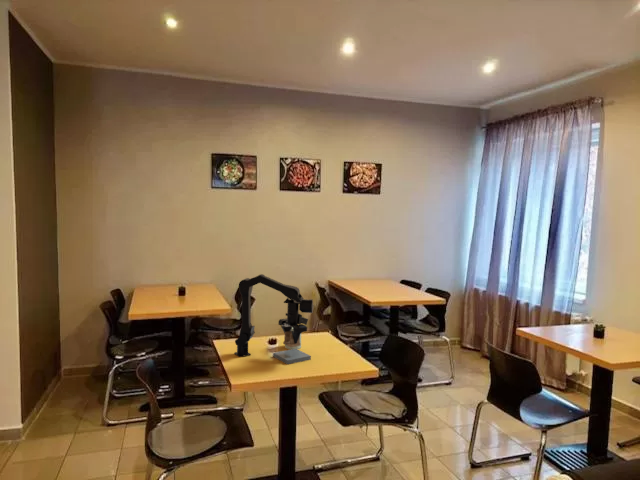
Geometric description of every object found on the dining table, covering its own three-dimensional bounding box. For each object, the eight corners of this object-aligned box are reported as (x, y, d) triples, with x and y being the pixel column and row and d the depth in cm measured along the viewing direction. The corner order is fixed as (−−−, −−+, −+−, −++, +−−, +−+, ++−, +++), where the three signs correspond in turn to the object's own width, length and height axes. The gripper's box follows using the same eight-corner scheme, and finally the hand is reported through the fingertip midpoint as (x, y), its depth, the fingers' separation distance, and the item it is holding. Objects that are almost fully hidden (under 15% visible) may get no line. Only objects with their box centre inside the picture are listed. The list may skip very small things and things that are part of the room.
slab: (273, 356, 235) (273, 352, 235) (295, 352, 243) (295, 348, 243) (287, 364, 224) (287, 360, 224) (310, 359, 232) (310, 355, 232)
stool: (283, 343, 234) (283, 331, 234) (293, 342, 238) (293, 330, 237) (290, 347, 228) (290, 335, 228) (300, 345, 232) (300, 333, 232)
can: (304, 346, 254) (305, 325, 253) (294, 350, 246) (295, 328, 246) (291, 343, 259) (291, 322, 258) (281, 347, 251) (281, 325, 251)
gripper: (316, 313, 229) (315, 344, 230) (296, 306, 244) (295, 335, 245) (297, 316, 223) (296, 347, 224) (278, 308, 238) (277, 338, 239)
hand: (292, 341), depth 233 cm, fingers closed on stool, 6 cm apart
